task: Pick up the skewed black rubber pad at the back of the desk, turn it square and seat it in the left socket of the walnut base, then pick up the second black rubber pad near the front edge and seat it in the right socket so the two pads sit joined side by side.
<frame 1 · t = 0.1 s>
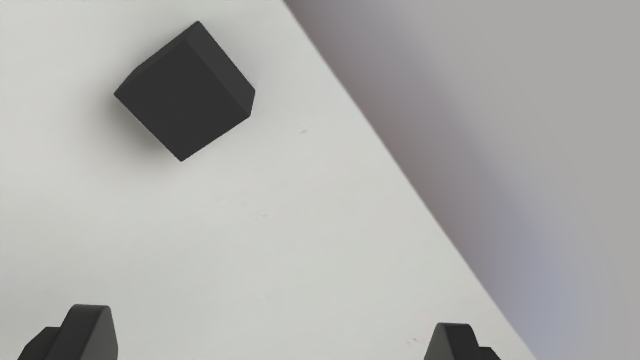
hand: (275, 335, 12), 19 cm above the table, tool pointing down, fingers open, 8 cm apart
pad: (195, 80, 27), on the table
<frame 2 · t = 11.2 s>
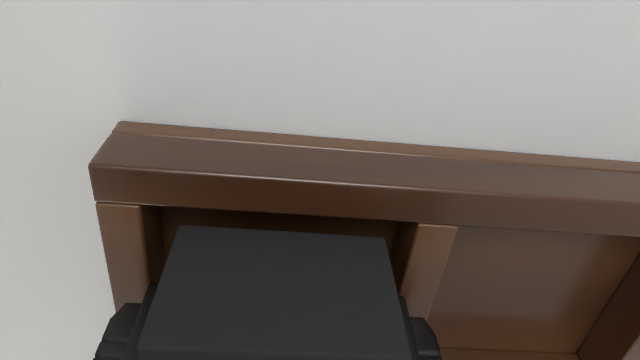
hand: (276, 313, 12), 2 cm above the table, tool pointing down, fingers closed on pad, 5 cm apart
pad base: (397, 262, 14), on the table
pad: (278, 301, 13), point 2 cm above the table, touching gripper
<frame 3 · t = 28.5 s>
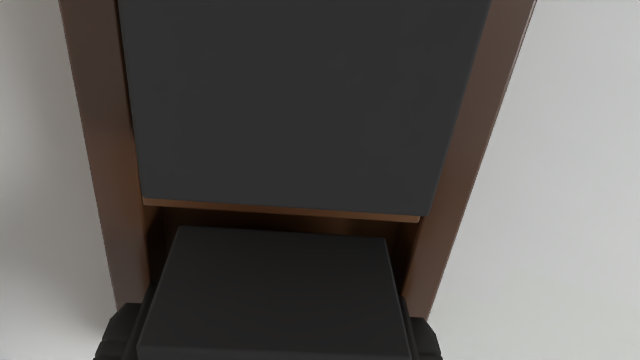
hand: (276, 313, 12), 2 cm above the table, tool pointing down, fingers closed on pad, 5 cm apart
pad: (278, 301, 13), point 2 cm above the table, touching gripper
pad base: (288, 150, 12), on the table
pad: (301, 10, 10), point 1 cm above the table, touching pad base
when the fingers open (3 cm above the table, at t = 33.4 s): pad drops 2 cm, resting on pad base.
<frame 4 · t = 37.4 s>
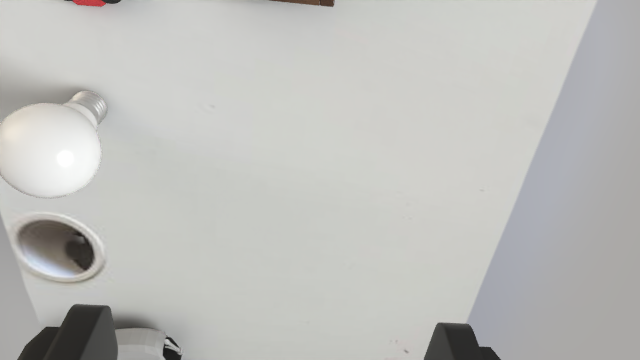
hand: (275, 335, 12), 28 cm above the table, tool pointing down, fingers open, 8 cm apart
lightbulb: (93, 101, 38), on the table
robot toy: (147, 354, 56), on the table
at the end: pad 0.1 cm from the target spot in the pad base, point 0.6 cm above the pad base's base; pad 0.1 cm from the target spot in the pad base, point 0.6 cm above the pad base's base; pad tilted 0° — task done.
